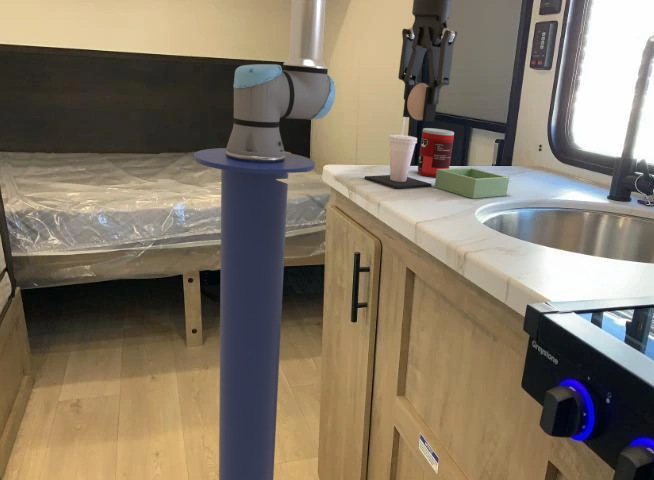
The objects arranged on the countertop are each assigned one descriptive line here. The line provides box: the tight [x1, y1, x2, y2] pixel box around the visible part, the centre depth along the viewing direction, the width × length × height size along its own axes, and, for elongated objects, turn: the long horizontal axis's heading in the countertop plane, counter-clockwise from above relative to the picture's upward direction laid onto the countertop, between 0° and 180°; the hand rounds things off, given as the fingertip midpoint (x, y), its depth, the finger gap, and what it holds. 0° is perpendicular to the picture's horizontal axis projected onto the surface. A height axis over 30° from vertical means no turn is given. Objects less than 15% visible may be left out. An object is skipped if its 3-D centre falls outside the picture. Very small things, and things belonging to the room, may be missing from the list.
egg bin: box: [434, 167, 510, 199], centre depth 135 cm, size 12×12×4 cm
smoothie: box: [388, 116, 418, 182], centre depth 135 cm, size 6×6×14 cm
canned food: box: [417, 127, 455, 178], centre depth 150 cm, size 8×8×11 cm
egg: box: [407, 82, 428, 121], centre depth 124 cm, size 5×5×7 cm
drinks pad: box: [364, 174, 433, 190], centre depth 137 cm, size 11×11×1 cm
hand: (418, 118), depth 125 cm, fingers closed on egg, 5 cm apart
